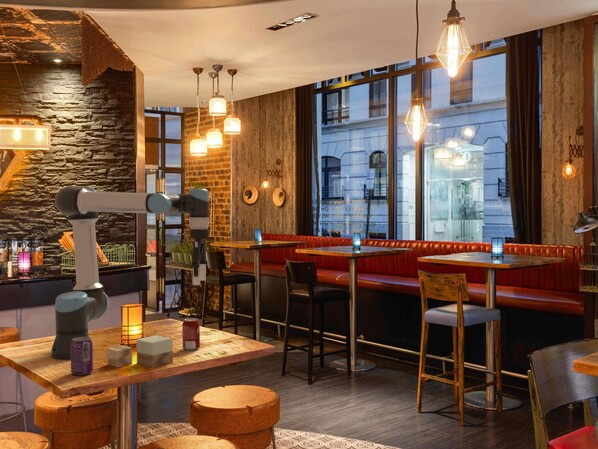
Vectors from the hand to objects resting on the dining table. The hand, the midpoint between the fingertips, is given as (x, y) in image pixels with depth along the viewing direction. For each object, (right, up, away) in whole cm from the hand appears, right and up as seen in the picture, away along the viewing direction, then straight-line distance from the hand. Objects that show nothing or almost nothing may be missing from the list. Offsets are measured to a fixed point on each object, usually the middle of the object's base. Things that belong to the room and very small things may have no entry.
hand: (199, 282), depth 244 cm
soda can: (-4, -27, +3) cm, 27 cm away
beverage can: (-35, -28, -32) cm, 55 cm away
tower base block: (-13, -28, -18) cm, 36 cm away
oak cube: (-25, -28, -20) cm, 42 cm away
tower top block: (-13, -23, -18) cm, 32 cm away
